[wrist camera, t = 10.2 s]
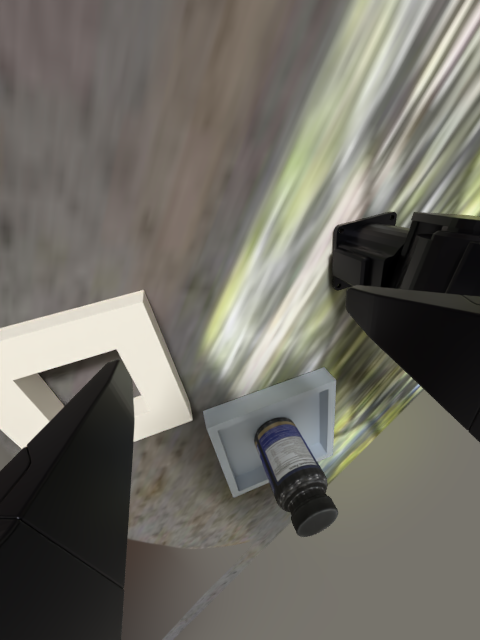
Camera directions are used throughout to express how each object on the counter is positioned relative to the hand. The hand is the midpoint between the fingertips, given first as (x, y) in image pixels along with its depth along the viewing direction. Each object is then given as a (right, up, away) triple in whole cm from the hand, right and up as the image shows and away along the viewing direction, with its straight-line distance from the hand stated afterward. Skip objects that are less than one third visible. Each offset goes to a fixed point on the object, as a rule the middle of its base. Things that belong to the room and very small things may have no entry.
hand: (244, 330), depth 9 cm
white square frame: (-14, -5, +14) cm, 20 cm away
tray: (+4, -15, +25) cm, 29 cm away
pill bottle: (+4, -15, +25) cm, 29 cm away
